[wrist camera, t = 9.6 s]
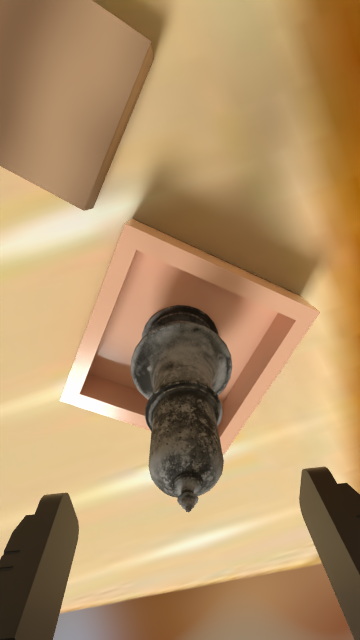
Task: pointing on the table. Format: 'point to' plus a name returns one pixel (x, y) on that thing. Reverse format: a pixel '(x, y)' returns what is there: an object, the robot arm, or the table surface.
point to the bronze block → (66, 92)
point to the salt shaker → (183, 399)
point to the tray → (190, 290)
